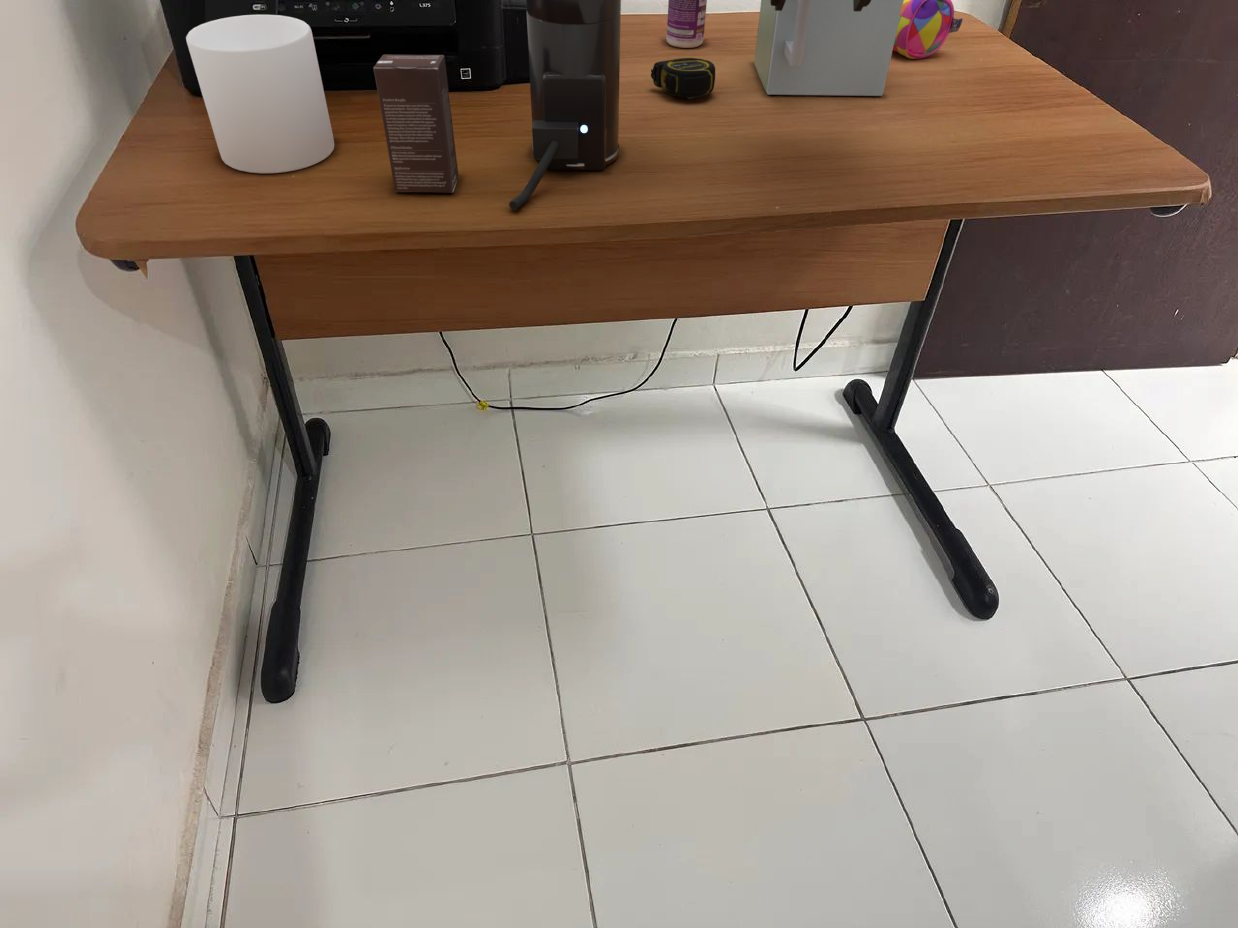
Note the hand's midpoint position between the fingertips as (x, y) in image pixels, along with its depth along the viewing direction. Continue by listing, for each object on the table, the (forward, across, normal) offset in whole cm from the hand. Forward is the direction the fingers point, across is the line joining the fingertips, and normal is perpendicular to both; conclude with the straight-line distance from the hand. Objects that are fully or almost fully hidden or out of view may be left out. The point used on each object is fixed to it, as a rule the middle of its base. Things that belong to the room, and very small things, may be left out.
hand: (817, 3), depth 93 cm
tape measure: (+16, +13, +3) cm, 21 cm away
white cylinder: (+2, +58, +16) cm, 60 cm away
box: (-3, +41, +22) cm, 47 cm away
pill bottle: (+30, +11, -12) cm, 34 cm away
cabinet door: (+14, -5, +4) cm, 15 cm away
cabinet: (+20, -5, -2) cm, 21 cm away
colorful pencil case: (+32, -18, -14) cm, 39 cm away
